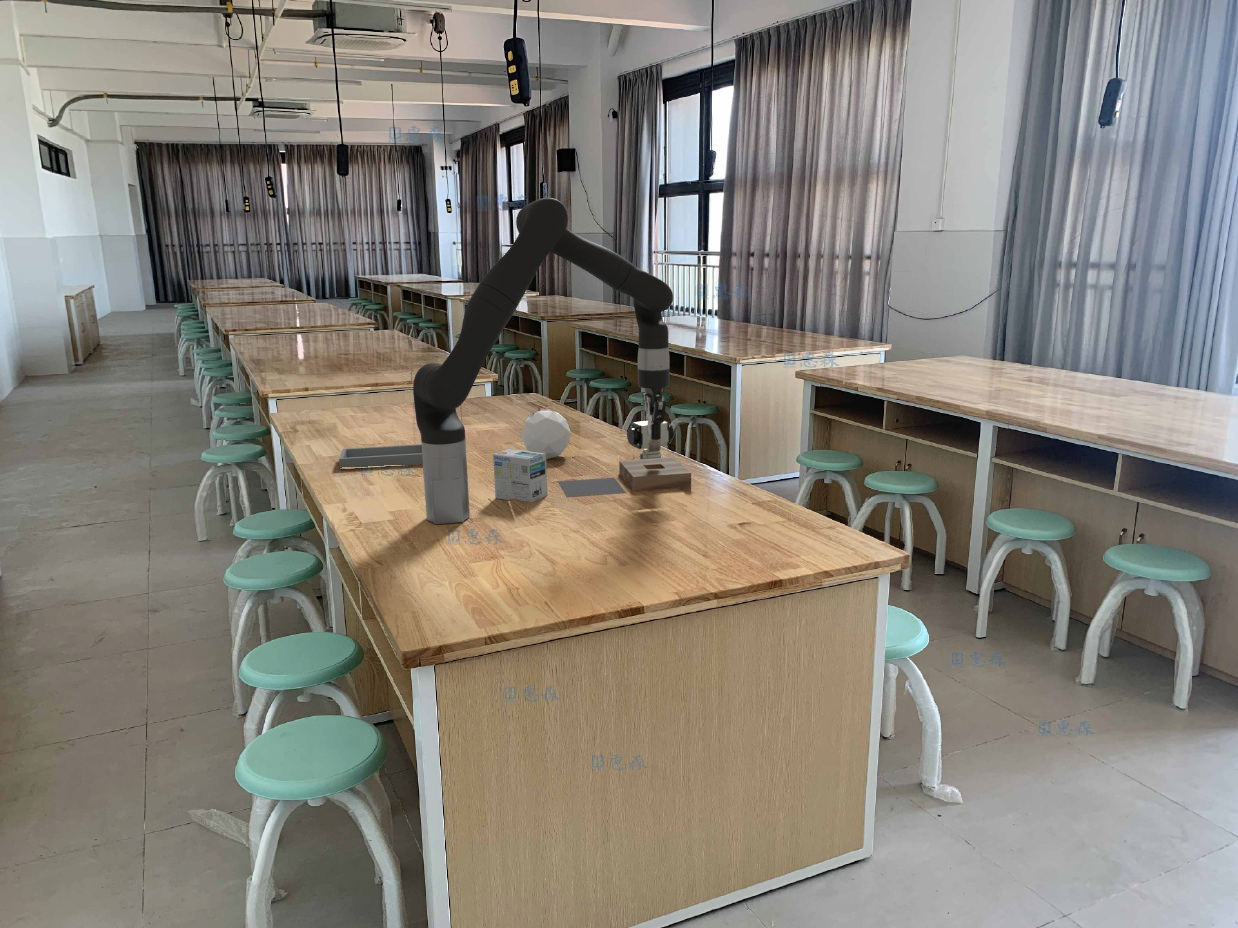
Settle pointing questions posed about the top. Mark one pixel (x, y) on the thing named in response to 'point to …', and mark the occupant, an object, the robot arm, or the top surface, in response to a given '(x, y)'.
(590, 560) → the top surface
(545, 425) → the geodesic sphere
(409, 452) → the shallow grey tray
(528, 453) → the light bulb box
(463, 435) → the robot arm
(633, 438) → the pneumatic valve
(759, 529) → the top surface
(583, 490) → the rubber mat
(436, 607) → the top surface
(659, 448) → the steel peg
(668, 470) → the hole block
